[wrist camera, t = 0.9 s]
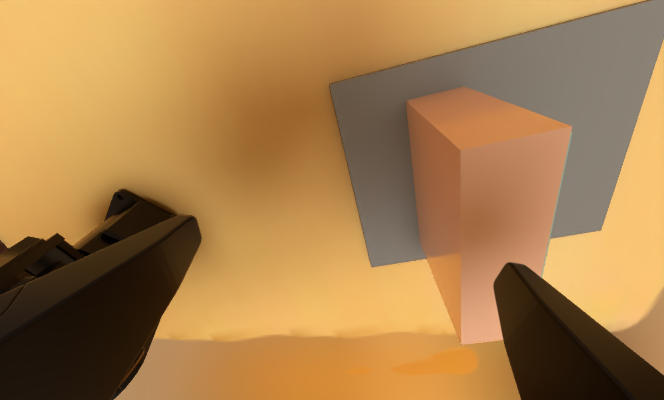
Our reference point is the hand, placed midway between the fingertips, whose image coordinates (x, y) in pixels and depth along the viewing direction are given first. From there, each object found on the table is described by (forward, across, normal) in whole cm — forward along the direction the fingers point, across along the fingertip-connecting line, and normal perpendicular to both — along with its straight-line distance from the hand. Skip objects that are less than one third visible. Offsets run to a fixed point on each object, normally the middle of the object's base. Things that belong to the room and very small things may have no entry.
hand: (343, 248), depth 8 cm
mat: (+14, -9, +3) cm, 17 cm away
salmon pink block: (+8, -7, +4) cm, 11 cm away
